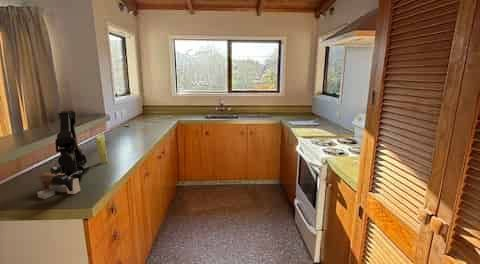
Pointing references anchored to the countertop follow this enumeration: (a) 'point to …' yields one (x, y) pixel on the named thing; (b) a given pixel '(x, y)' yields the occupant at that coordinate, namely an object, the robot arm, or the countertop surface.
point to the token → (46, 193)
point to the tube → (101, 148)
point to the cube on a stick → (64, 189)
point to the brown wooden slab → (48, 179)
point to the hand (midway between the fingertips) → (74, 189)
